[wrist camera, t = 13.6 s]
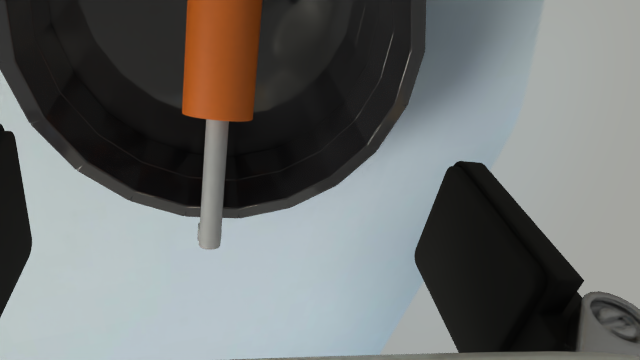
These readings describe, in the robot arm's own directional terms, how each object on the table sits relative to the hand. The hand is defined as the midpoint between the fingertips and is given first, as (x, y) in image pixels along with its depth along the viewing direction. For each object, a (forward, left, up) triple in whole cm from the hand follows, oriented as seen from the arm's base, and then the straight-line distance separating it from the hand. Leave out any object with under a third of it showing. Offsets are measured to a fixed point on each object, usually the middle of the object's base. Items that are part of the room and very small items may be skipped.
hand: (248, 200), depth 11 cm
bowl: (0, 0, -13) cm, 13 cm away
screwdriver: (0, +3, -10) cm, 11 cm away
